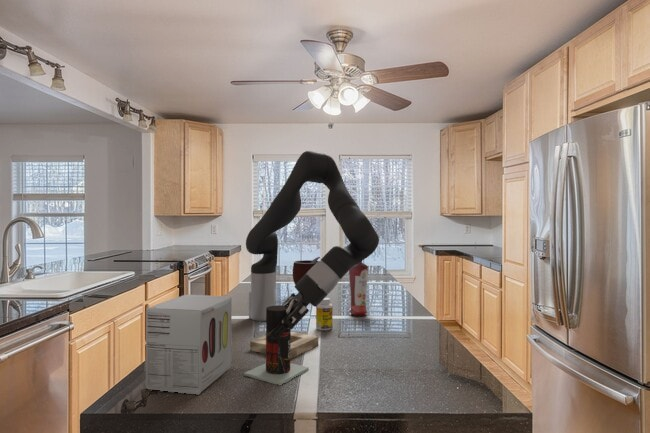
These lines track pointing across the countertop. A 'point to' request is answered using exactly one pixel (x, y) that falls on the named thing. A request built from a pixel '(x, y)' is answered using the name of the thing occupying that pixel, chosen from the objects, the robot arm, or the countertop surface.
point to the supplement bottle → (324, 315)
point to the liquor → (358, 289)
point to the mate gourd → (302, 268)
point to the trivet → (276, 378)
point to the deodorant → (277, 342)
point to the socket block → (298, 344)
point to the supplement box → (188, 343)
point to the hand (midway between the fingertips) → (270, 332)
